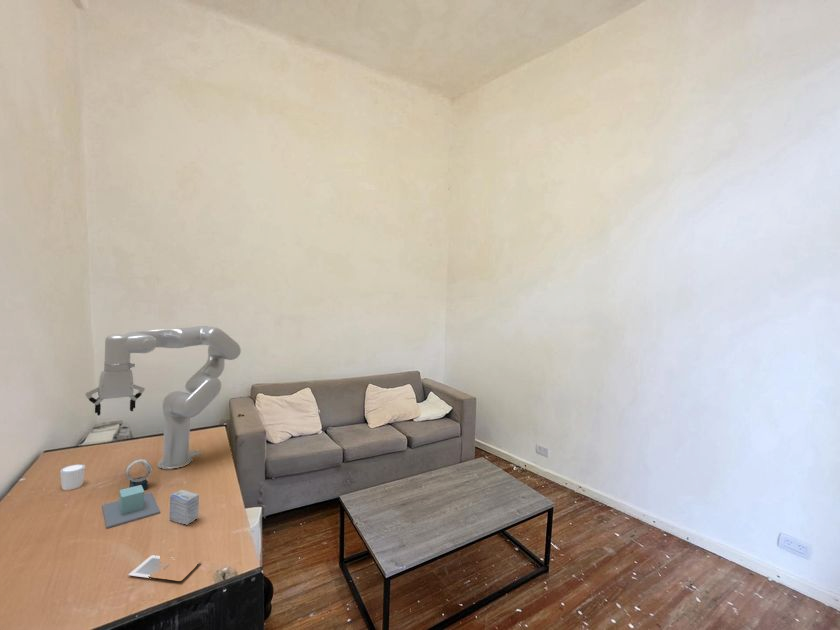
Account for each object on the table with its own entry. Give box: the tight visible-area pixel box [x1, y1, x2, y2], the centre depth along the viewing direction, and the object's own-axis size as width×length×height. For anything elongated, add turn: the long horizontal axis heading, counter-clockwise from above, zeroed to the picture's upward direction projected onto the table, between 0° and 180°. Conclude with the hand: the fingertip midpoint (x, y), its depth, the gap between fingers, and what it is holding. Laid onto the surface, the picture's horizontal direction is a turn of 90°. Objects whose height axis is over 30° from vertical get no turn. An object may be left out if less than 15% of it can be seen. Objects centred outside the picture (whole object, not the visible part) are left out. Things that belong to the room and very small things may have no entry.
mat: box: [101, 492, 161, 530], centre depth 127 cm, size 14×16×1 cm
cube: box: [118, 485, 145, 515], centre depth 127 cm, size 6×6×6 cm
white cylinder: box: [59, 463, 86, 491], centre depth 139 cm, size 7×7×7 cm
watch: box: [125, 458, 153, 491], centre depth 140 cm, size 6×8×11 cm
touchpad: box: [127, 554, 175, 579], centre depth 101 cm, size 8×15×2 cm, turn 85°
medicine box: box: [169, 489, 200, 526], centre depth 123 cm, size 8×4×9 cm, turn 71°
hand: (115, 412), depth 140 cm, fingers open, 9 cm apart
